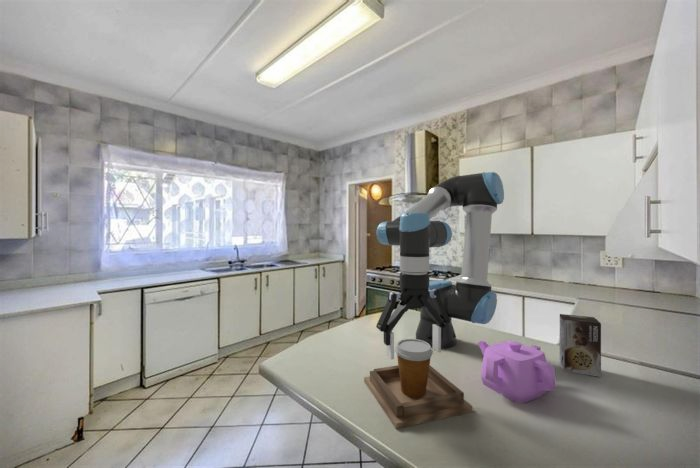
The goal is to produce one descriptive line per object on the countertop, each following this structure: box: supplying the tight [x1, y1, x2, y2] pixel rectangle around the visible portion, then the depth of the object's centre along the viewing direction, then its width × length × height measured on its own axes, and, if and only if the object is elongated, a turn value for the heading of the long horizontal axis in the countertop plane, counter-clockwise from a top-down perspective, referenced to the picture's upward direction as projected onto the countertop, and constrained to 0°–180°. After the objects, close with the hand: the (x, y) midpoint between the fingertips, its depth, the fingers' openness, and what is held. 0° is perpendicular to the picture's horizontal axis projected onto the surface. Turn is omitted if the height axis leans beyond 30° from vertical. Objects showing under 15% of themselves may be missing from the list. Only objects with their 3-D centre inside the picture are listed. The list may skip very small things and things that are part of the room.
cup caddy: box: [363, 364, 473, 430], centre depth 74 cm, size 20×20×4 cm
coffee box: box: [558, 313, 602, 378], centre depth 88 cm, size 9×6×16 cm
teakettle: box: [477, 340, 557, 404], centre depth 78 cm, size 17×17×12 cm
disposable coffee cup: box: [394, 338, 434, 398], centre depth 74 cm, size 10×10×12 cm
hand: (414, 353), depth 74 cm, fingers open, 13 cm apart
